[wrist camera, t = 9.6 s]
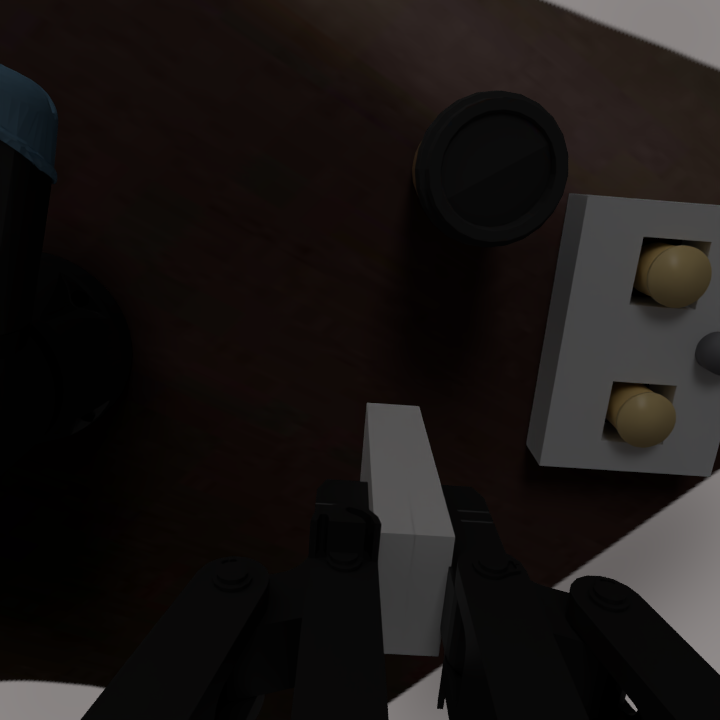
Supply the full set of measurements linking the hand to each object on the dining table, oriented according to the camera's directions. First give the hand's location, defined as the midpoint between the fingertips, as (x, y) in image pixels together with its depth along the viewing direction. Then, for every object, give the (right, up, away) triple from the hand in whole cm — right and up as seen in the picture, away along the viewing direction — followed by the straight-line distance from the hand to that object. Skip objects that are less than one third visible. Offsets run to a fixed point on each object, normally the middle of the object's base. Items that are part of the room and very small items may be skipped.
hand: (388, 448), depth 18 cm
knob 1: (+22, +10, +30) cm, 38 cm away
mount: (+21, +5, +33) cm, 39 cm away
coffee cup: (+6, +17, +29) cm, 34 cm away
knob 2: (+21, -1, +33) cm, 39 cm away
